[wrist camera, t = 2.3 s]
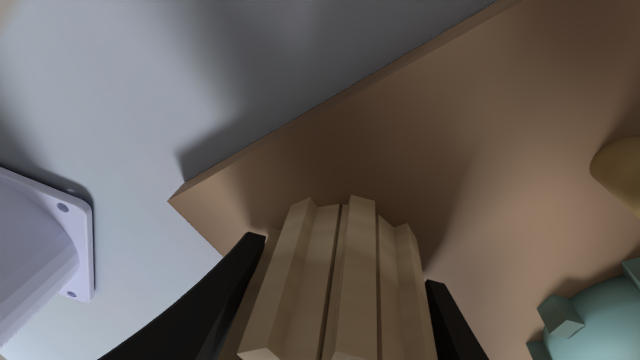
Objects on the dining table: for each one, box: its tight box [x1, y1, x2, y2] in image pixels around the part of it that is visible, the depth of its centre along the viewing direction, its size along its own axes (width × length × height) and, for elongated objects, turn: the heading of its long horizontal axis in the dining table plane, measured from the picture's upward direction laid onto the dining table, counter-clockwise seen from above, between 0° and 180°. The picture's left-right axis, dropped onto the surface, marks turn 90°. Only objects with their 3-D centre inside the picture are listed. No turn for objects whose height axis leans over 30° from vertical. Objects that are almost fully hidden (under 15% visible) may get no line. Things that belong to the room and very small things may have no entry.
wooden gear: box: [217, 195, 438, 360], centre depth 9 cm, size 6×6×5 cm
